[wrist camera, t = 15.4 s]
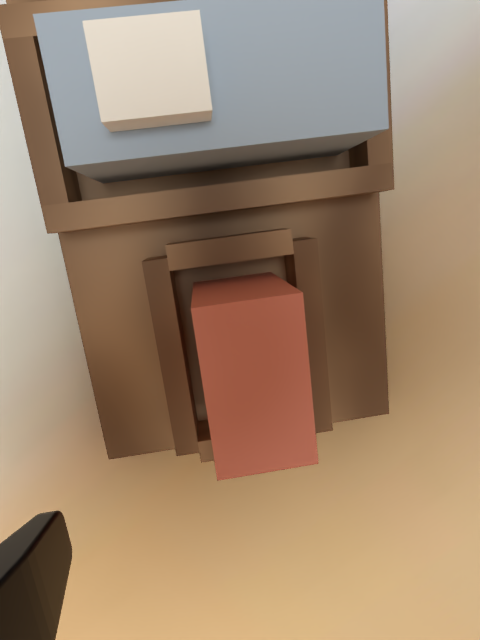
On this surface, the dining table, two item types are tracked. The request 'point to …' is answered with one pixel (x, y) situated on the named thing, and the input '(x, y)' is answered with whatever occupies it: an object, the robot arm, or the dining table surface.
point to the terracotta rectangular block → (255, 373)
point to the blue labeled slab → (213, 83)
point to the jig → (206, 262)
